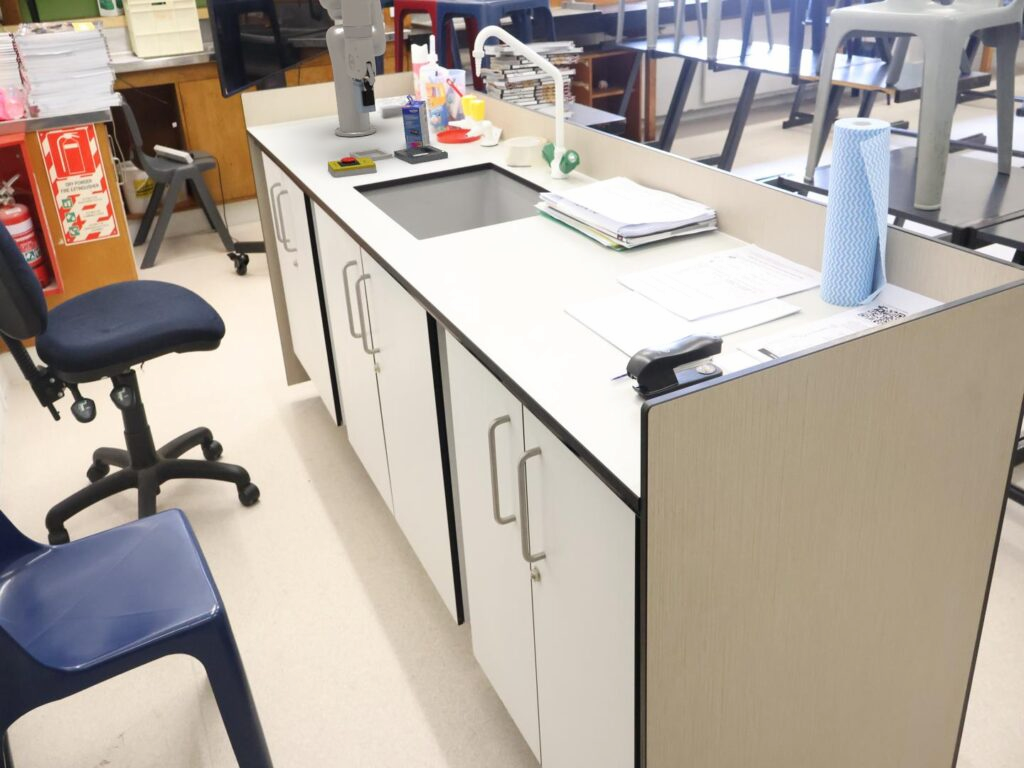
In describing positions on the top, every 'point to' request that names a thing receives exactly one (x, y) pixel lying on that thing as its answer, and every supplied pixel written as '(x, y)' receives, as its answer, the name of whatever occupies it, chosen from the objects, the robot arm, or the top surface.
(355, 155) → the grey square tray
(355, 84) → the plug
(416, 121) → the ink cartridge box
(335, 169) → the emergency button
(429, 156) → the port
